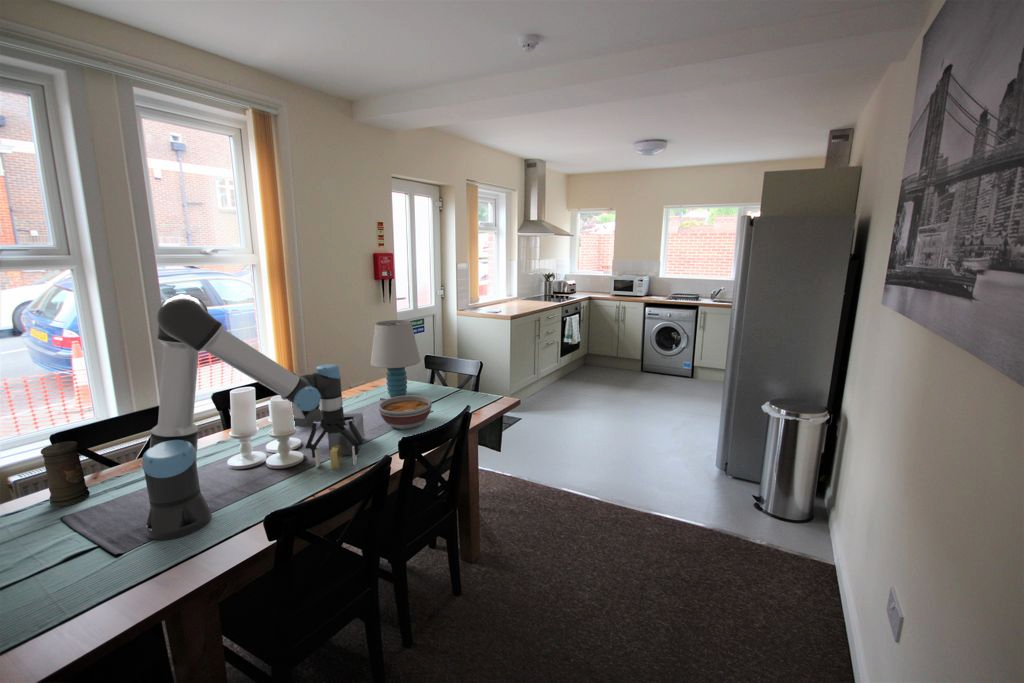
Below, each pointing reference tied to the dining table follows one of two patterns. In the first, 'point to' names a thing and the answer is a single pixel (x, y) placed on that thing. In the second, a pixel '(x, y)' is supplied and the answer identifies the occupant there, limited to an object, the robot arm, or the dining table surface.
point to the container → (64, 474)
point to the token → (335, 456)
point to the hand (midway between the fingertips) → (336, 464)
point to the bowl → (405, 411)
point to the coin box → (341, 440)
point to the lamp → (394, 353)
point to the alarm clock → (306, 416)
